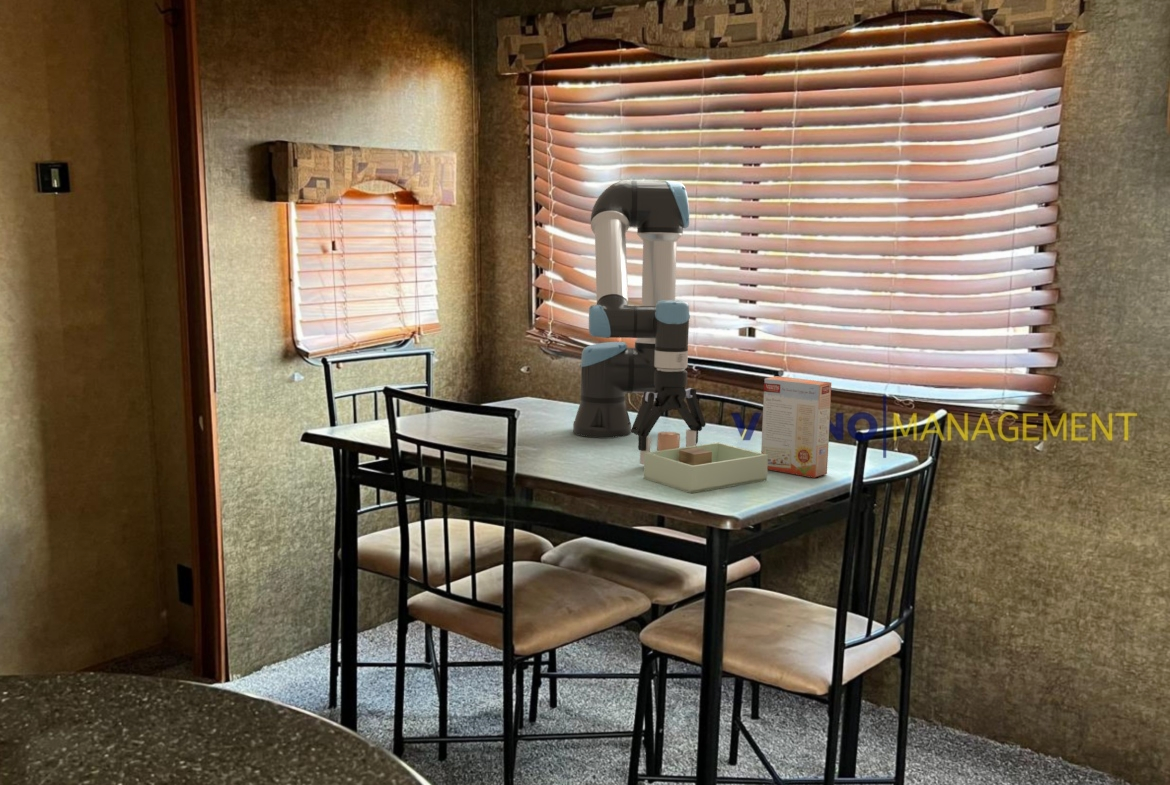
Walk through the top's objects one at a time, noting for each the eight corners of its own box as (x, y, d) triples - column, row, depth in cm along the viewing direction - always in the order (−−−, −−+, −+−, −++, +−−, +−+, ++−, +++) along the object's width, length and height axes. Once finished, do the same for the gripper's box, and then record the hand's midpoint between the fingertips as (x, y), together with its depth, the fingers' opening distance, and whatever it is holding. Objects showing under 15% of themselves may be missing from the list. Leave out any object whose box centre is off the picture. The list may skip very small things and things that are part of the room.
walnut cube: (678, 472, 245) (679, 450, 244) (696, 469, 248) (696, 447, 247) (693, 477, 241) (694, 454, 240) (711, 474, 244) (711, 452, 243)
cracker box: (828, 474, 248) (833, 381, 245) (814, 479, 244) (819, 384, 241) (773, 464, 257) (777, 374, 254) (759, 468, 253) (763, 377, 250)
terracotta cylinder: (652, 463, 257) (653, 433, 256) (669, 460, 260) (670, 430, 259) (666, 467, 253) (667, 436, 252) (683, 464, 256) (684, 434, 255)
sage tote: (643, 478, 242) (644, 452, 241) (717, 466, 254) (718, 442, 253) (691, 493, 229) (692, 466, 228) (766, 480, 242) (767, 455, 241)
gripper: (638, 374, 243) (635, 470, 246) (722, 367, 257) (719, 458, 260) (616, 370, 249) (614, 464, 252) (700, 364, 263) (697, 452, 266)
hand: (668, 461), depth 256 cm, fingers open, 13 cm apart
